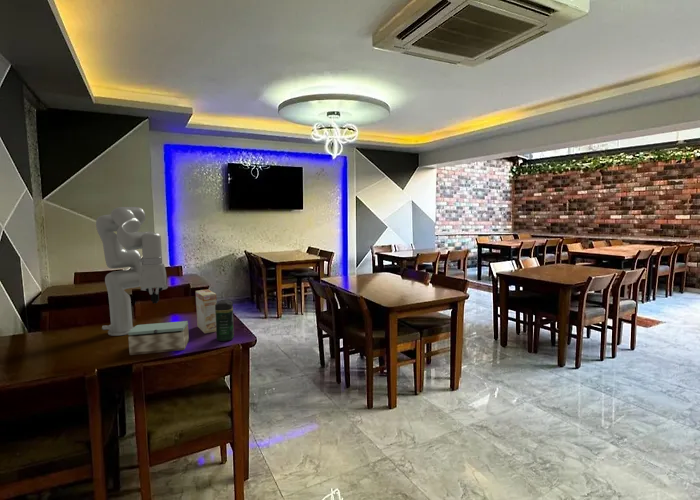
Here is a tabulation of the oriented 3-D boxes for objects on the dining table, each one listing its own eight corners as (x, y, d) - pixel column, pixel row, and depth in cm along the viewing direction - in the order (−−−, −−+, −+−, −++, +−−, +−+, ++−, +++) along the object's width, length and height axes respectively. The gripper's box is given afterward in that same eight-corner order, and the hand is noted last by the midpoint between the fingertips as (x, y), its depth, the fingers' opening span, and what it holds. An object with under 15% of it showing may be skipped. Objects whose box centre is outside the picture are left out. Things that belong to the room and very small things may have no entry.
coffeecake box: (218, 331, 203) (216, 293, 201) (204, 333, 199) (202, 295, 197) (210, 324, 215) (208, 288, 213) (197, 326, 211) (194, 290, 209)
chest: (129, 355, 171) (128, 337, 170) (138, 344, 185) (137, 327, 184) (184, 349, 177) (183, 332, 176) (188, 339, 190) (187, 323, 189)
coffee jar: (232, 341, 187) (230, 302, 185) (215, 342, 186) (213, 303, 184) (235, 334, 197) (233, 298, 195) (219, 335, 196) (217, 298, 194)
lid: (127, 335, 169) (127, 332, 169) (137, 327, 184) (136, 324, 184) (182, 331, 175) (182, 327, 174) (187, 323, 189) (187, 320, 189)
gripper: (131, 263, 167) (134, 306, 169) (169, 262, 171) (172, 303, 173) (136, 260, 174) (138, 301, 176) (172, 259, 178) (175, 299, 180)
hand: (155, 302), depth 175 cm, fingers closed
